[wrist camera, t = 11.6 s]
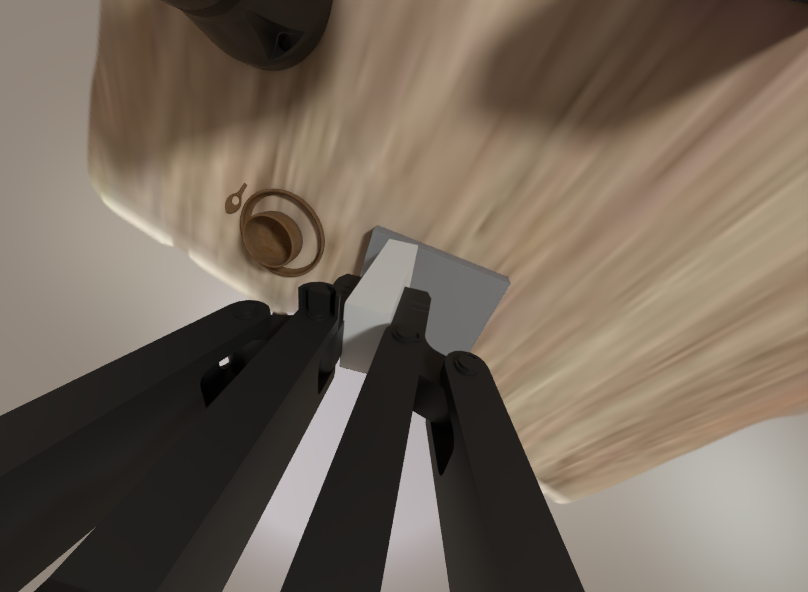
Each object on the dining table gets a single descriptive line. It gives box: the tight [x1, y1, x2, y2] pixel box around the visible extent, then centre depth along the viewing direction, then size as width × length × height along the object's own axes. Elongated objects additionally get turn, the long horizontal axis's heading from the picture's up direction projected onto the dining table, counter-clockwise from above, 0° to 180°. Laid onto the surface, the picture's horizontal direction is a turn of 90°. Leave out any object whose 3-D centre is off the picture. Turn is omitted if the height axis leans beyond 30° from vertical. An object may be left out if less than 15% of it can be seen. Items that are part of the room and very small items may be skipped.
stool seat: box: [359, 226, 510, 356], centre depth 39 cm, size 18×17×5 cm
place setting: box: [225, 183, 325, 315], centre depth 40 cm, size 18×20×6 cm
